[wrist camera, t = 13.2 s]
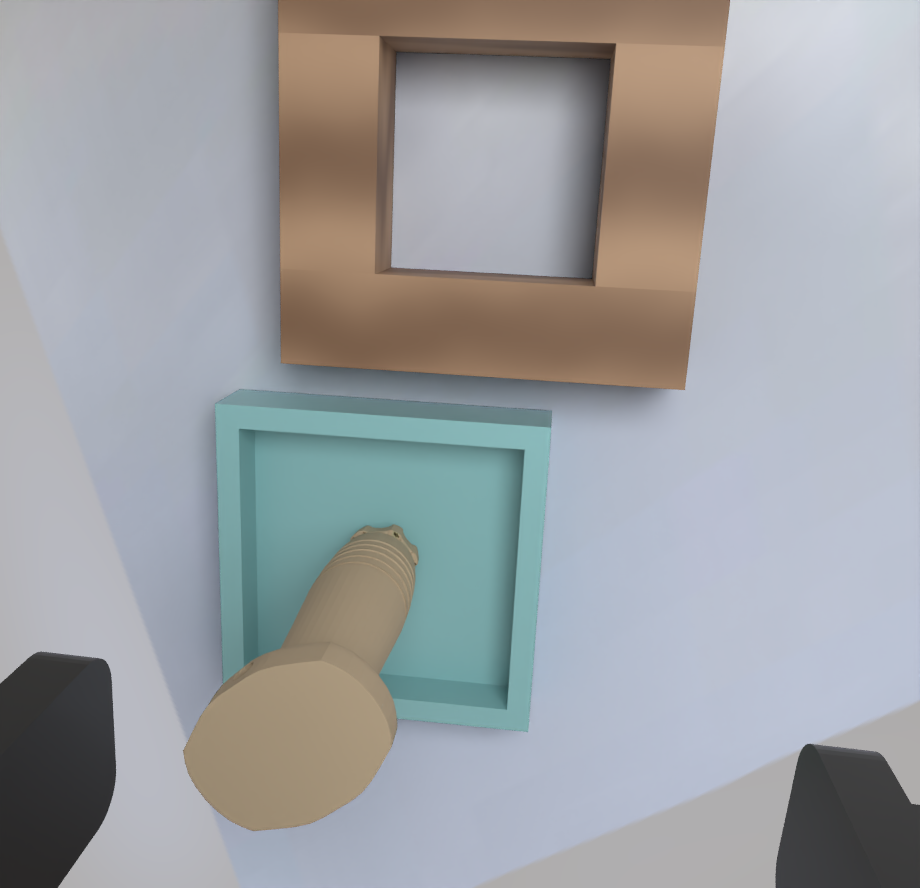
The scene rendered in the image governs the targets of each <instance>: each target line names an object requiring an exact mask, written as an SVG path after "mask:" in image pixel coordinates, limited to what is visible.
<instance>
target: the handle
mask: <svg viewBox="0 0 920 888" xmlns="http://www.w3.org/2000/svg"><path fill="white" fill-rule="evenodd" d="M418 560H419V555H418V549H417V547H416V546H415V545H413V544H411V543H410V542H409V541H408V540H407V538H406V537H405V535H404V533H403V529H402V528H401V527H400V526H398V525H395V524H393V525H391V526H389V527H385V528H374V527H371V526H369V525H367V526H365V527H363V528H361V529H359V530H358V531H357V532H356V533H355V534H354V535H353V536H352V537H351V538H350V541H349V542H348V543H347V544H345V545H344V546H343V547H342V548H341V549H340V550H339V551H338V552H337V553H336V554H335V556H334V557H333V558H332V559H331V560H330V561H329V563H328V564H327V565H326V566H325V567H324V569H323V570H322V572H321V573H320V575H319V576H318V577H317V579H316V580H315V582H314V583H313V585H312V587H311V588H310V590H309V592H308V594H307V596H306V598H305V600H304V602H303V604H302V606H301V608H300V611H299V613H298V615H297V617H296V619H295V621H294V623H293V625H292V627H291V629H290V631H289V633H288V635H287V637H286V639H285V640H284V642H283V644H282V646H281V648H280V649H277V650H274V651H271V652H268V653H265V654H263V655H261V656H259V657H257V658H255V659H253V660H252V661H251V662H249V663H248V664H247V665H246V666H244V667H243V668H242V669H241V670H239V671H238V672H237V673H235V674H234V675H233V676H232V677H230V678H229V679H228V680H227V681H226V682H225V683H224V684H223V685H222V686H221V687H220V689H219V690H218V691H217V692H216V694H215V695H214V697H213V698H212V700H211V701H210V703H209V705H208V706H207V708H206V709H205V710H204V712H203V713H202V715H201V716H200V718H199V720H198V722H197V724H196V726H195V728H194V730H193V732H192V734H191V736H190V738H189V740H188V742H187V744H186V746H185V748H184V750H183V752H184V759H185V764H186V767H187V770H188V774H189V776H190V777H191V779H192V781H193V783H194V784H195V787H196V788H197V789H198V790H199V792H200V793H201V794H202V796H203V797H204V798H205V800H206V801H207V802H208V803H209V804H210V805H211V806H212V807H213V808H214V809H215V810H216V811H217V812H219V813H220V814H221V815H223V816H224V817H225V818H227V819H228V820H229V821H231V822H233V823H235V824H237V825H239V826H241V827H244V828H246V829H249V830H252V831H259V830H271V829H281V828H290V827H297V826H302V825H306V824H310V823H313V822H315V821H317V820H319V819H321V818H324V817H325V816H327V815H329V814H330V813H332V812H334V811H335V810H337V809H339V808H340V807H342V806H344V805H345V804H347V803H349V802H350V801H352V800H353V799H354V798H356V797H357V796H358V795H360V794H361V793H362V792H363V791H364V790H365V788H366V787H367V786H368V785H369V783H370V782H371V781H372V779H373V778H374V776H375V774H376V773H377V771H378V769H379V768H380V766H381V764H382V763H383V761H384V759H385V757H386V756H387V754H388V752H389V750H390V748H391V747H392V744H393V740H394V737H395V734H396V730H397V715H396V709H395V705H394V701H393V698H392V696H391V694H390V692H389V690H388V688H387V686H386V685H385V684H384V682H383V681H382V679H381V678H380V676H379V674H380V672H381V670H382V668H383V666H384V664H385V662H386V660H387V658H388V656H389V654H390V652H391V651H392V649H393V647H394V645H395V643H396V641H397V639H398V637H399V635H400V633H401V631H402V629H403V626H404V623H405V621H406V618H407V615H408V612H409V609H410V606H411V602H412V597H413V593H414V588H415V577H416V575H415V566H416V565H417V564H418Z"/></svg>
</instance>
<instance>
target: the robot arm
mask: <svg viewBox="0 0 920 888" xmlns="http://www.w3.org/2000/svg"><path fill="white" fill-rule="evenodd" d="M115 778H116V760H115V741H114V719H113V701H112V680H111V672H110V669H109V666H108V664H107V663H106V661H105V660H103V659H99V658H91V657H81V656H73V655H64V654H56V653H47V652H37V653H35V654H33V655H32V656H31V657H29V658H28V659H27V660H26V661H25V662H24V663H23V664H21V666H19V667H18V668H17V669H16V670H15V671H14V672H13V673H12V674H11V675H9V676H8V678H6V679H5V680H4V681H3V682H2V683H1V684H0V888H58V886H59V885H60V884H61V882H62V881H63V879H64V877H65V876H66V875H67V874H68V872H69V871H70V869H71V868H72V866H73V865H74V863H75V862H76V861H77V859H78V858H79V856H80V855H81V854H82V852H83V851H84V849H85V848H86V846H87V845H88V843H89V842H90V841H91V839H92V838H93V836H94V835H95V834H96V832H97V831H98V829H99V828H100V826H101V824H102V822H103V820H104V818H105V816H106V814H107V811H108V808H109V806H110V803H111V799H112V796H113V791H114V786H115ZM776 888H920V805H915V804H911V803H910V801H909V799H908V798H907V796H906V794H905V793H904V791H903V789H902V787H901V786H900V784H899V782H898V780H897V779H896V777H895V775H894V773H893V772H892V770H891V768H890V766H889V765H888V763H887V761H886V760H885V758H884V757H883V756H882V755H881V754H880V753H878V752H873V751H865V750H857V749H847V748H840V747H831V746H822V745H814V744H807V745H805V746H804V747H803V749H802V751H801V752H800V755H799V758H798V762H797V766H796V771H795V776H794V780H793V785H792V790H791V795H790V800H789V804H788V809H787V813H786V818H785V823H784V828H783V832H782V837H781V842H780V846H779V851H778V857H777V863H776Z"/></svg>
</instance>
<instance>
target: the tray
mask: <svg viewBox="0 0 920 888" xmlns="http://www.w3.org/2000/svg"><path fill="white" fill-rule="evenodd" d="M551 420H552V411H546V410H531V409H517V408H502V407H488V406H474V405H459V404H445V403H430V402H416V401H401V400H387V399H373V398H358V397H344V396H329V395H315V394H300V393H286V392H272V391H257V390H243V389H239V390H238V391H236V392H234V393H233V394H231V395H229V396H227V397H226V398H224V399H222V400H221V401H219V402H217V403H215V422H216V458H217V493H218V528H219V563H220V598H221V633H222V669H223V684H224V683H225V682H226V681H227V680H228V679H229V678H230V677H232V676H233V675H234V674H235V673H237V672H238V671H239V670H241V669H242V668H243V667H244V666H246V665H247V664H248V663H249V662H251V661H252V660H253V659H255V658H257V657H259V656H261V655H263V654H265V653H268V652H271V651H274V650H277V649H280V648H281V646H282V644H283V642H284V640H285V639H286V637H287V635H288V633H289V631H290V629H291V627H292V625H293V623H294V621H295V619H296V617H297V615H298V613H299V611H300V608H301V606H302V604H303V602H304V600H305V598H306V596H307V594H308V592H309V590H310V588H311V587H312V585H313V583H314V582H315V580H316V579H317V577H318V576H319V575H320V573H321V572H322V570H323V569H324V567H325V566H326V565H327V564H328V563H329V561H330V560H331V559H332V558H333V557H334V556H335V554H336V553H337V552H338V551H339V550H340V549H341V548H342V547H343V546H344V545H345V544H347V543H348V542H349V541H350V538H351V537H352V536H353V535H354V534H355V533H356V532H357V531H358V530H359V529H361V528H363V527H365V526H367V525H369V526H371V527H374V528H385V527H389V526H391V525H393V524H395V525H398V526H400V527H401V528H402V529H403V533H404V535H405V537H406V538H407V540H408V541H409V542H410V543H411V544H413V545H415V546H416V547H417V549H418V555H419V560H418V564H417V565H416V566H415V575H416V577H415V588H414V593H413V597H412V602H411V606H410V609H409V612H408V615H407V618H406V621H405V623H404V626H403V629H402V631H401V633H400V635H399V637H398V639H397V641H396V643H395V645H394V647H393V649H392V651H391V652H390V654H389V656H388V658H387V660H386V662H385V664H384V666H383V668H382V670H381V672H380V674H379V676H380V678H381V679H382V681H383V682H384V684H385V685H386V686H387V688H388V690H389V692H390V694H391V696H392V698H393V701H394V705H395V709H396V715H397V719H407V720H417V721H426V722H436V723H446V724H456V725H466V726H475V727H485V728H495V729H505V730H514V731H524V732H528V726H529V713H530V700H531V687H532V674H533V660H534V647H535V634H536V621H537V608H538V595H539V582H540V569H541V556H542V542H543V529H544V516H545V503H546V490H547V477H548V464H549V451H550V438H551Z"/></svg>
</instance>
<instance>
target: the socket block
mask: <svg viewBox="0 0 920 888" xmlns="http://www.w3.org/2000/svg"><path fill="white" fill-rule="evenodd" d="M729 6H730V0H278V40H279V167H280V294H281V363H286V364H301V365H316V366H331V367H346V368H361V369H376V370H391V371H406V372H422V373H437V374H452V375H467V376H482V377H497V378H512V379H527V380H542V381H557V382H572V383H588V384H603V385H618V386H633V387H648V388H663V389H678V390H685V383H686V375H687V366H688V357H689V349H690V340H691V332H692V323H693V315H694V306H695V297H696V289H697V280H698V272H699V263H700V254H701V246H702V237H703V229H704V220H705V212H706V203H707V194H708V186H709V177H710V169H711V160H712V152H713V143H714V134H715V126H716V117H717V109H718V100H719V91H720V83H721V74H722V66H723V57H724V49H725V40H726V31H727V23H728V14H729ZM396 52H417V53H447V54H478V55H508V56H538V57H569V58H599V59H611V62H610V74H609V86H608V97H607V109H606V121H605V133H604V144H603V156H602V168H601V180H600V191H599V203H598V215H597V227H596V238H595V250H594V262H593V274H592V279H586V278H568V277H550V276H532V275H514V274H495V273H477V272H459V271H441V270H423V269H405V268H391V248H392V208H393V168H394V128H395V88H396Z"/></svg>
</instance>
